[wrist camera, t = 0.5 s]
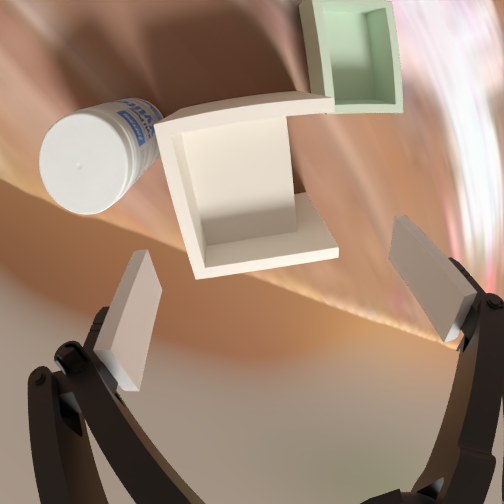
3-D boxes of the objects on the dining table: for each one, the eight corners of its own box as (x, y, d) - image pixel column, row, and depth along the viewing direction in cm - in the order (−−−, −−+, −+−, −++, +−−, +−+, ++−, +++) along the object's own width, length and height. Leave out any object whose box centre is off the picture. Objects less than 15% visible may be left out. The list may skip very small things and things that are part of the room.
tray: (312, 108, 33) (326, 114, 28) (298, 5, 26) (310, -7, 21) (380, 106, 33) (403, 112, 28) (369, 9, 25) (391, 1, 20)
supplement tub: (179, 111, 32) (148, 131, 20) (152, 177, 37) (116, 232, 24) (111, 87, 30) (49, 99, 17) (90, 154, 34) (30, 197, 22)
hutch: (181, 108, 32) (153, 124, 20) (296, 90, 32) (333, 97, 20) (205, 216, 40) (195, 279, 29) (306, 200, 40) (338, 257, 28)
